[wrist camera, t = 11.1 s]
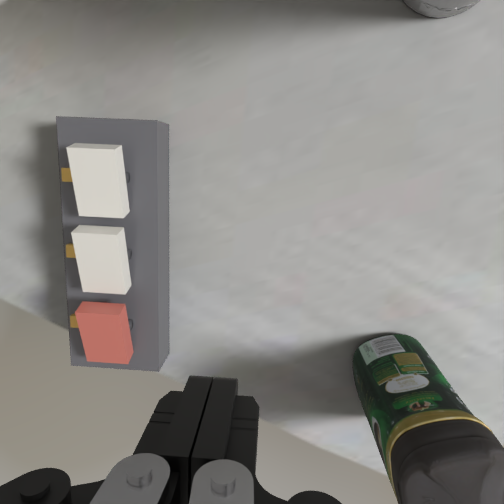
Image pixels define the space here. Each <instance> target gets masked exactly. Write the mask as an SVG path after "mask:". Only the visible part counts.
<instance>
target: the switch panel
mask: <svg viewBox="0 0 504 504" xmlns="http://www.w3.org/2000/svg"><path fill="white" fill-rule="evenodd" d="M56 122H57V139H58V155H59V172H60V189H61V205H62V222H63V238H64V255H65V272H66V288H67V305H68V322H69V337H70V355H71V365H73V366H87V367H101V368H115V369H129V370H144V371H158V372H159V371H160V369H161V367H162V365H163V363H164V362H165V360H166V358H167V356H168V355H169V125H168V124H166V123H163V122H160V121H157V120H133V119H108V118H83V117H59V116H56ZM74 143H86V144H109V145H122V152H123V160H124V168H125V176H126V184H127V192H128V201H129V209H130V212H129V213H128V214H127V215H126V216H125V217H124V218H107V217H88V216H79V213H78V208H77V202H76V197H75V192H74V186H73V181H72V176H71V170H70V165H69V159H68V154H67V149H66V147H68V146H70V145H72V144H74ZM79 225H90V226H109V227H124V232H125V240H126V247H127V255H128V262H129V270H130V277H131V287H130V288H129V290H128V292H127V293H126V294H109V293H93V292H83V290H82V285H81V280H80V275H79V270H78V265H77V260H76V255H75V250H74V245H73V240H72V235H71V232H72V231H73V230H74V229H75V228H77V227H78V226H79ZM82 301H87V302H103V303H119V304H125V305H126V311H127V316H128V322H129V328H130V334H131V340H132V346H133V355H132V357H131V359H130V361H129V364H118V363H103V362H89V361H87V358H86V354H85V350H84V347H83V343H82V339H81V335H80V331H79V327H78V323H77V319H76V315H75V311H76V310H77V308H78V307H79V306H80V304H81V303H82Z"/></svg>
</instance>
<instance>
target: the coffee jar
mask: <svg viewBox="0 0 504 504" xmlns="http://www.w3.org/2000/svg"><path fill="white" fill-rule="evenodd" d="M353 372H354V379H355V384H356V388H357V392H358V395H359V398H360V401H361V404H362V407H363V409H364V412H365V414H366V417H367V419H368V422H369V424H370V427H371V430H372V433H373V435H374V438H375V441H376V444H377V446H378V449H379V452H380V455H381V458H382V460H383V463H384V466H385V468H386V471H387V474H388V477H389V480H390V482H391V485H392V488H393V490H394V493H395V496H396V498H397V501H398V504H504V448H503V447H502V445H501V444H500V442H499V441H498V440H497V438H496V437H495V436H494V434H493V432H492V431H491V430H490V429H489V428H488V427H487V426H486V425H485V424H484V423H483V422H482V421H481V420H479V419H478V418H476V417H475V416H474V415H473V414H472V413H471V412H470V410H469V409H468V408H467V407H466V405H465V404H464V403H463V401H462V400H461V399H460V397H459V396H458V395H457V393H456V392H455V391H454V389H453V388H452V387H451V385H450V384H449V383H448V381H447V380H446V379H445V377H444V376H443V375H442V373H441V372H440V370H439V369H438V367H437V366H436V364H435V363H434V361H433V360H432V359H431V357H430V356H429V355H428V353H427V352H426V351H425V349H424V348H423V347H422V345H421V344H420V343H419V342H418V341H417V340H416V339H414V338H413V337H411V336H408V335H403V334H394V335H386V336H381V337H377V338H374V339H371V340H369V341H367V342H365V343H363V344H362V345H360V346H359V347H358V348H357V350H356V351H355V353H354V356H353Z"/></svg>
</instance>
